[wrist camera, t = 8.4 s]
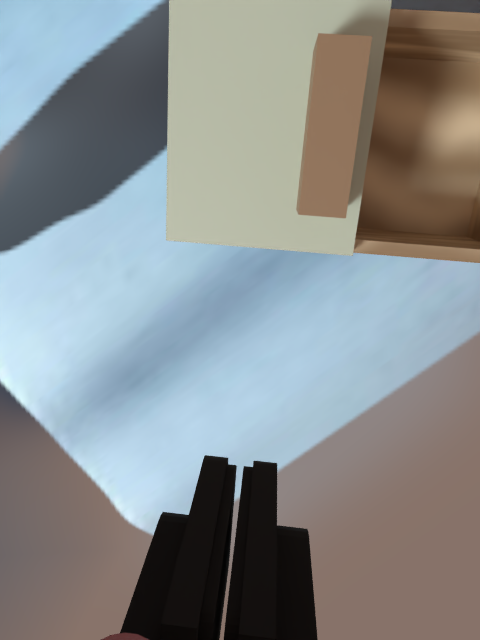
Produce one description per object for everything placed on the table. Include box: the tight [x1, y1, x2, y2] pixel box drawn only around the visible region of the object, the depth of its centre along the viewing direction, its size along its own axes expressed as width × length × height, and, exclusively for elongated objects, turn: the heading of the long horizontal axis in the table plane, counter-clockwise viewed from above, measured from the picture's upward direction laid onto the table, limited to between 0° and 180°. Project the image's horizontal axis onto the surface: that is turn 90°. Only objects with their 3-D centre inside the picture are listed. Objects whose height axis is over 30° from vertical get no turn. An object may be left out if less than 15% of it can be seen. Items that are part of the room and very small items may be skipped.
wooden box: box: [353, 9, 480, 263], centre depth 35 cm, size 16×14×9 cm
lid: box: [166, 0, 392, 256], centre depth 29 cm, size 16×14×5 cm
